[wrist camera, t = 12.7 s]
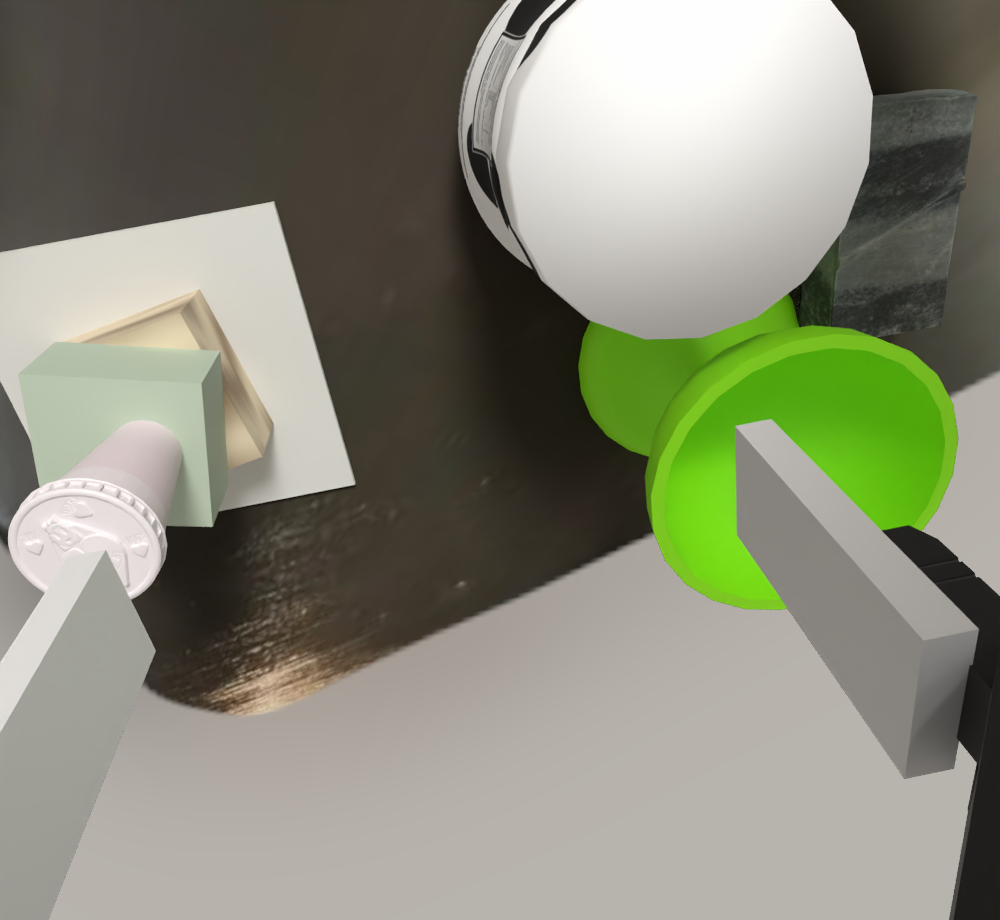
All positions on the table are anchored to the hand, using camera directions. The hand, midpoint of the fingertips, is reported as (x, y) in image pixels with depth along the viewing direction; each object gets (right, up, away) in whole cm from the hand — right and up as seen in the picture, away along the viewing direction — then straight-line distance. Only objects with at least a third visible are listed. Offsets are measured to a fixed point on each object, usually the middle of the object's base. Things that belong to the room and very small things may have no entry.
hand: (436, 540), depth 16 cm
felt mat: (-21, +7, +36) cm, 42 cm away
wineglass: (+15, +9, +39) cm, 43 cm away
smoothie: (-18, +2, +27) cm, 32 cm away
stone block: (+26, +18, +36) cm, 48 cm away
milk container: (+7, +22, +31) cm, 39 cm away
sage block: (-20, +4, +31) cm, 37 cm away
